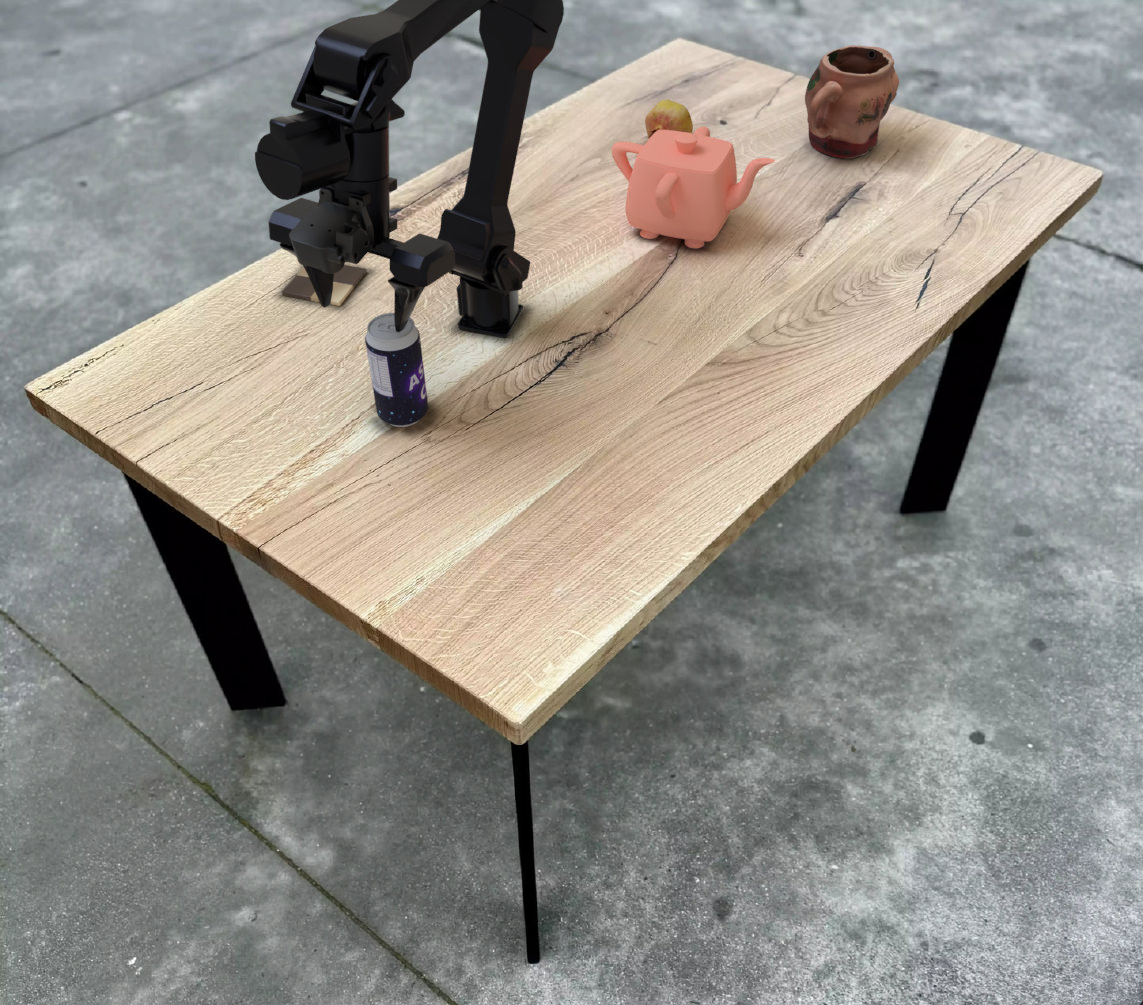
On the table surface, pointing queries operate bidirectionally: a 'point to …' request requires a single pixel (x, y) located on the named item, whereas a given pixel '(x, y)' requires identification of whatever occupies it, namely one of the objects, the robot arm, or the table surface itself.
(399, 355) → the beverage can
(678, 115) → the fruit
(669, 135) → the teapot
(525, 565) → the table surface
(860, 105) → the decorative planter
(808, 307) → the table surface
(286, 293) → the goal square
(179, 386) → the table surface
